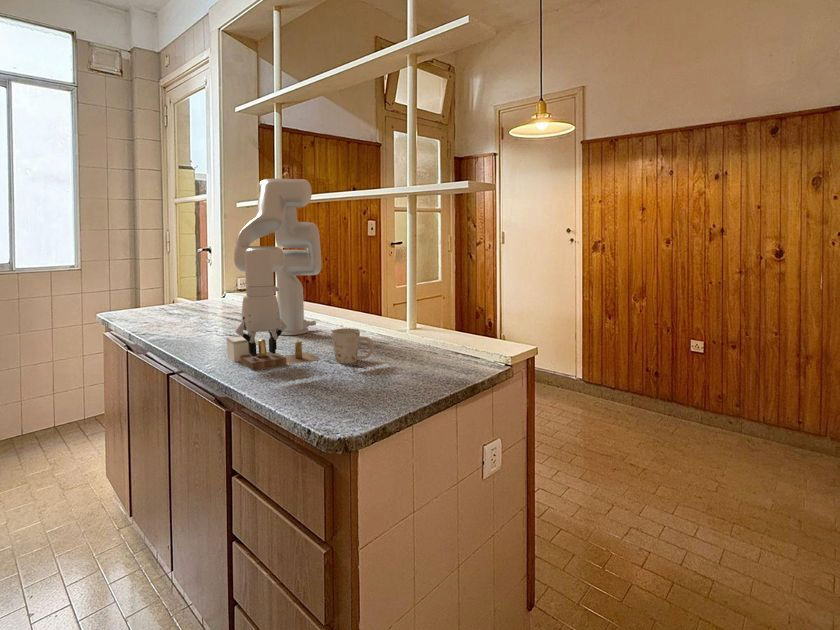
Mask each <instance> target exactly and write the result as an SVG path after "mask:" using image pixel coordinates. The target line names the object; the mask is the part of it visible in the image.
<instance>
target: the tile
mask: <svg viewBox="0 0 840 630" xmlns="http://www.w3.org/2000/svg"><path fill="white" fill-rule="evenodd" d="M302 343H303V341H299V340H298V341H295V342H294V354H289V355H283V356H284V357H286V359H287V364H289V365H294V364H301V363H306V362H312V361H318V360H321V358H320V357H318V356H315V355H314V354H311V353H309V352H303V344H302Z"/></svg>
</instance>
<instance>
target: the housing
mask: <svg viewBox="0 0 840 630" xmlns="http://www.w3.org/2000/svg"><path fill="white" fill-rule="evenodd" d="M254 342H255V343H256V339H254ZM226 352H227V353H226V354H227V355H226V356H227V358H228V359H229V360H231V361H232V362H234V363H236V362H237V363H238V362H240V356H243V355H250V353H249V346H248V341H247V340H246V339H244V338H243V337H242V336H240V335H239V336H233V337H227V338H226Z"/></svg>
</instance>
